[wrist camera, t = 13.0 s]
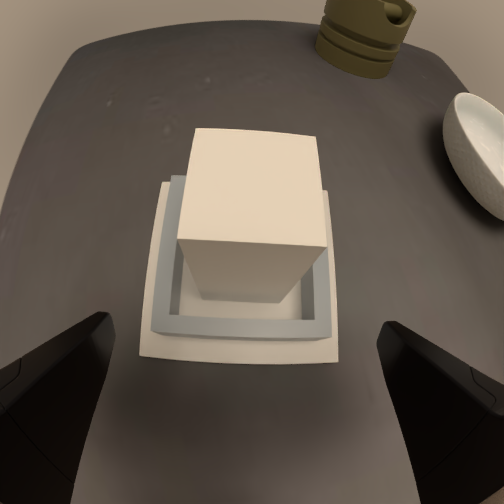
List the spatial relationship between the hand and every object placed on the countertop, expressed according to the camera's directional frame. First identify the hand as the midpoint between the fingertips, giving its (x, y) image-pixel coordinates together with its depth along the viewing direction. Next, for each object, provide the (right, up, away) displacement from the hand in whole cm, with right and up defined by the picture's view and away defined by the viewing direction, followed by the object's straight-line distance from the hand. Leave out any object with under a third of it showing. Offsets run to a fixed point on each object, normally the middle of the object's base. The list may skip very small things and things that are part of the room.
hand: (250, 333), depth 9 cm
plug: (-1, +2, +11) cm, 11 cm away
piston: (+15, +31, +25) cm, 42 cm away
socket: (-1, +1, +12) cm, 12 cm away
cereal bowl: (+28, +12, +18) cm, 35 cm away
